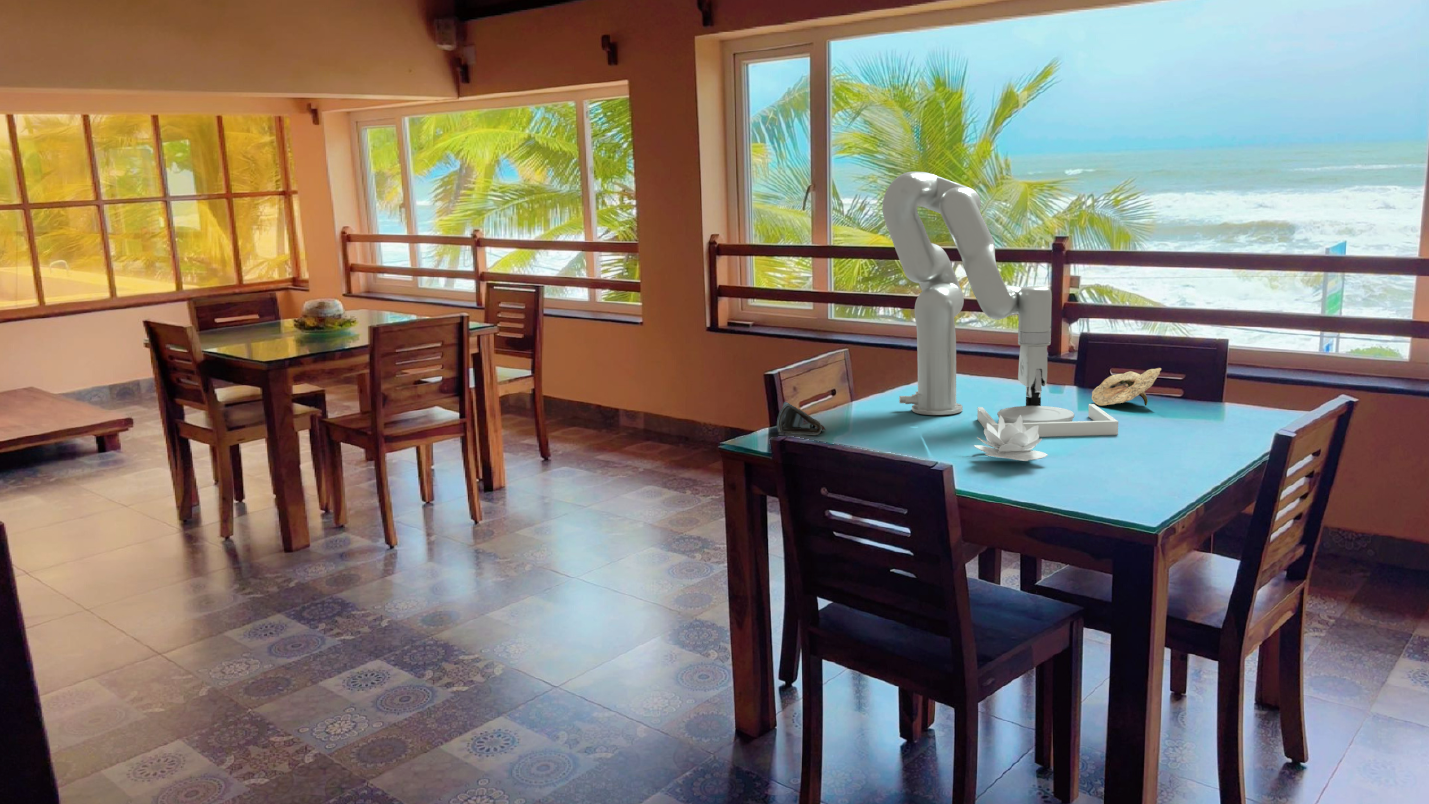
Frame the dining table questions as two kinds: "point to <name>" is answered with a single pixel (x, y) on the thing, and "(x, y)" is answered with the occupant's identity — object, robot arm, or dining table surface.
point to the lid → (1036, 414)
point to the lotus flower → (1012, 441)
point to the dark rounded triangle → (797, 421)
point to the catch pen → (1065, 424)
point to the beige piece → (1124, 387)
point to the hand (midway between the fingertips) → (1033, 412)
